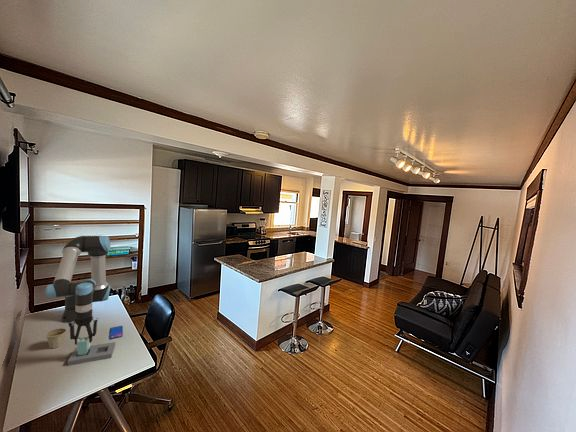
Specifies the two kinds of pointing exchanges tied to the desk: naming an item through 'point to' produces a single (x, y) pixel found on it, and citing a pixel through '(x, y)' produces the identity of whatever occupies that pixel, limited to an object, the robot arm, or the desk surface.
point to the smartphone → (116, 332)
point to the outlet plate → (92, 354)
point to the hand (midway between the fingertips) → (83, 348)
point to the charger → (82, 346)
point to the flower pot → (55, 337)
